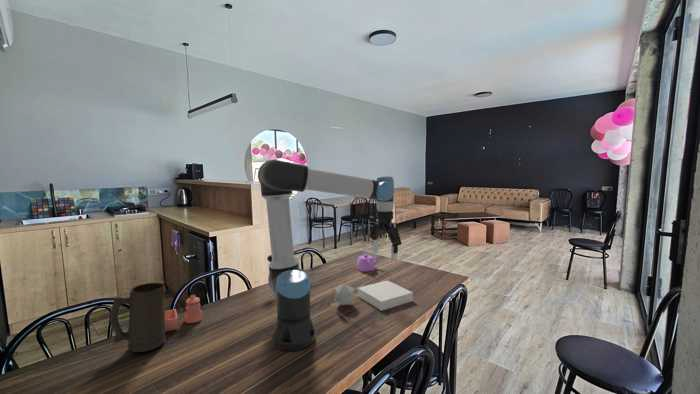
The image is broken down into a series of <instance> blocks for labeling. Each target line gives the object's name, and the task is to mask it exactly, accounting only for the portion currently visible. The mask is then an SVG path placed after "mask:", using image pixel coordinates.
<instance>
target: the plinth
mask: <svg viewBox="0 0 700 394" xmlns="http://www.w3.org/2000/svg"><path fill="white" fill-rule="evenodd" d="M357 297H359V298H360V299H361V300H363V301H365V302H367V303H368V304H370V305H371V306H373V307H374V308H377V309H378V310H379V311H385V310H388V309H392V308H395V307H398V306H401V305H404V304H407V303H411V302H413V301H414V300H413V299H414V292H413V291H411V290H408V289H406V288H404V287H402V286H400V285H399V284H396V283H395V282H392V281H389V280H383V281H379V282H375V283H372V284H367V285H365V286H364V285H363V286H360V287H357Z"/></svg>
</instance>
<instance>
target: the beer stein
mask: <svg viewBox="0 0 700 394" xmlns="http://www.w3.org/2000/svg"><path fill="white" fill-rule="evenodd" d="M165 294H166V286H165V284H164V283H162V282H149V283H143V284H138V285H137V286H134V287H132V288H131V290H130V293H129V297H121V296H116V297H114V298H113V304H112V306H111V309H110V311H109V316H108V318H109V319H108V320H109V323H110V325H111V328H112V329H113V331H114V333H115V336H114V337H113V342H114V344H117V343H118V342H121V341H127V342H128V343H127V350H128V351H130V352H134V353H139V352H140V353H141V352H142V353H143V352H147V351H151V350H155V349H157V348H158V347H161V345H164V343H165V342H166V340H167V339H166V338H167V337H166V333H167V332H166V329H165V311H166V310H165V308H166V307H165ZM123 305H128V306H129V313H128V318H129V319H128V329H127V330H128V331H127V332H124V331H123V329H122V327H121V325H120V322H119V310H120V307H121V306H123Z"/></svg>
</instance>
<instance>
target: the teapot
mask: <svg viewBox="0 0 700 394" xmlns="http://www.w3.org/2000/svg"><path fill="white" fill-rule="evenodd" d="M380 256H381V254H377V255H376V256H375V259H374V258H373V256H371V255H369V254H367V253H364V254H363V255H359V256H358V258H357V260H356V268H357V270H358V271H359V272H363V273H368V272H374V271H375V269H376V265H377V264H378V260H379V257H380Z"/></svg>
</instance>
